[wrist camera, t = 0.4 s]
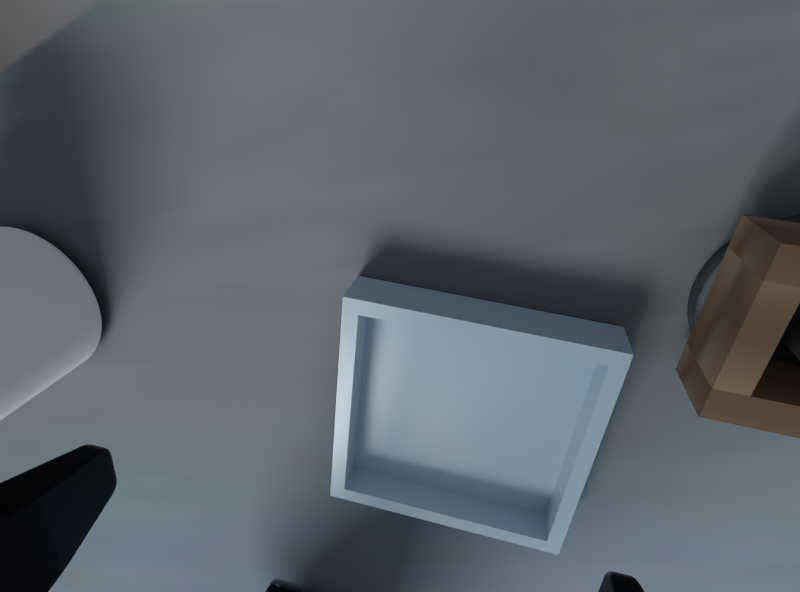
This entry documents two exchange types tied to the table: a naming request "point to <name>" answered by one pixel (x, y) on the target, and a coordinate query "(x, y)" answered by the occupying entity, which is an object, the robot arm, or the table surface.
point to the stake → (794, 343)
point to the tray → (471, 409)
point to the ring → (748, 332)
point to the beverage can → (41, 317)
